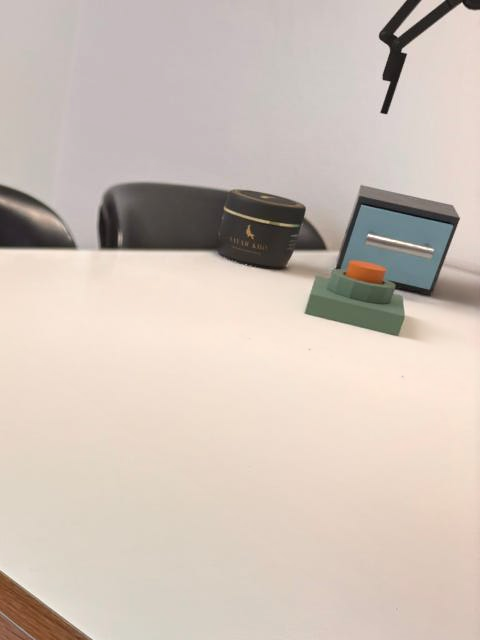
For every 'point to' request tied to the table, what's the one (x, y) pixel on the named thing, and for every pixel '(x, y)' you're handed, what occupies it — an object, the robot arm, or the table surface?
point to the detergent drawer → (398, 244)
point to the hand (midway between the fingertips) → (440, 126)
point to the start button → (366, 272)
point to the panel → (357, 302)
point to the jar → (259, 228)
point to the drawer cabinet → (406, 206)
